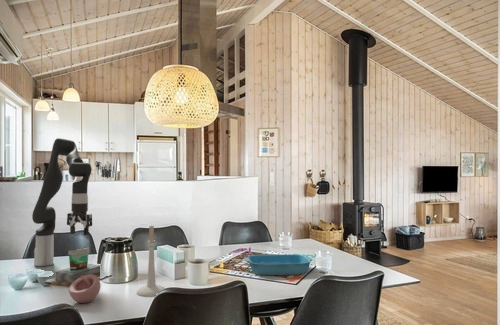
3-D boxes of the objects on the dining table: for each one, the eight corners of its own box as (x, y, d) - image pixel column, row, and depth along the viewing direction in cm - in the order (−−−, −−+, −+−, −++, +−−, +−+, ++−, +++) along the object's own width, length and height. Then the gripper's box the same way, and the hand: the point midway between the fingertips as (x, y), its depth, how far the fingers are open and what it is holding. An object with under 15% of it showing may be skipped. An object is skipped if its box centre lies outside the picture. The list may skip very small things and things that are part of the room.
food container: (78, 272, 184) (78, 251, 184) (67, 271, 186) (68, 250, 186) (95, 265, 196) (95, 246, 196) (84, 264, 198) (85, 245, 198)
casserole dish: (306, 265, 220) (306, 252, 220) (317, 275, 198) (317, 262, 198) (242, 267, 215) (242, 254, 215) (247, 278, 193) (247, 264, 193)
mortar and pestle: (62, 305, 155) (62, 276, 155) (84, 295, 166) (84, 269, 166) (85, 308, 151) (85, 279, 151) (106, 299, 162) (106, 272, 162)
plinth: (44, 282, 185) (44, 271, 185) (79, 271, 206) (79, 261, 206) (79, 287, 177) (79, 276, 177) (111, 275, 198) (112, 264, 198)
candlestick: (138, 298, 163) (138, 228, 164) (134, 289, 175) (135, 224, 175) (168, 294, 168) (168, 226, 169) (162, 286, 180) (163, 222, 180)
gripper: (63, 202, 191) (62, 234, 191) (85, 203, 186) (84, 236, 186) (74, 201, 198) (74, 232, 198) (96, 202, 193) (95, 234, 193)
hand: (79, 234), depth 192 cm, fingers open, 8 cm apart
